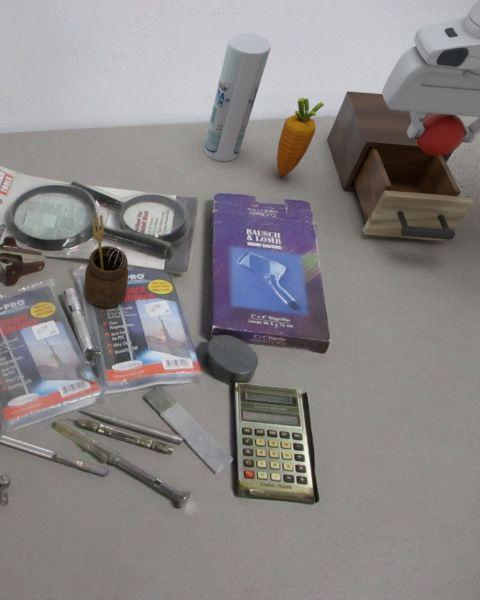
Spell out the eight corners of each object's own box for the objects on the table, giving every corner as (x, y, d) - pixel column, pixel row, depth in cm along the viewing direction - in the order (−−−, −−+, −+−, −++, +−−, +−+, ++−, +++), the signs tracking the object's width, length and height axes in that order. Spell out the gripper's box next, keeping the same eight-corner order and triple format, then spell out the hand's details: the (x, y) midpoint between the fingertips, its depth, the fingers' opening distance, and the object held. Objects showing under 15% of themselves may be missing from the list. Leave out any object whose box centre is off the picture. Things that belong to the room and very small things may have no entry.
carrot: (299, 173, 103) (330, 96, 92) (290, 189, 100) (321, 111, 89) (272, 164, 105) (299, 86, 93) (262, 179, 102) (289, 100, 90)
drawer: (455, 263, 89) (485, 224, 83) (371, 256, 89) (394, 217, 83) (420, 185, 101) (444, 146, 95) (346, 179, 101) (365, 140, 95)
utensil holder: (99, 316, 81) (106, 254, 72) (74, 286, 85) (77, 224, 75) (134, 298, 84) (144, 237, 74) (108, 270, 87) (115, 208, 78)
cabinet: (424, 197, 100) (455, 148, 93) (342, 190, 101) (366, 141, 93) (401, 145, 110) (427, 97, 102) (327, 139, 110) (347, 91, 103)
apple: (444, 141, 89) (470, 98, 84) (457, 166, 85) (485, 122, 80) (404, 137, 89) (427, 94, 84) (415, 162, 85) (440, 118, 80)
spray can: (201, 139, 109) (226, 31, 93) (236, 141, 109) (267, 33, 93) (204, 161, 105) (231, 52, 89) (241, 163, 105) (274, 54, 89)
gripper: (565, 39, 77) (502, 131, 87) (405, 27, 77) (362, 119, 88) (587, 64, 73) (519, 157, 83) (419, 50, 73) (372, 145, 84)
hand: (437, 138), depth 86 cm, fingers closed on apple, 6 cm apart
